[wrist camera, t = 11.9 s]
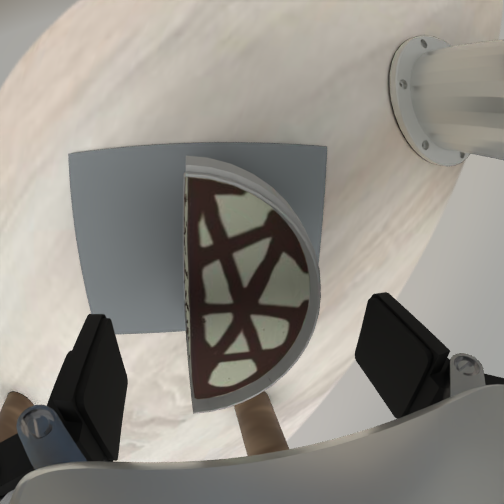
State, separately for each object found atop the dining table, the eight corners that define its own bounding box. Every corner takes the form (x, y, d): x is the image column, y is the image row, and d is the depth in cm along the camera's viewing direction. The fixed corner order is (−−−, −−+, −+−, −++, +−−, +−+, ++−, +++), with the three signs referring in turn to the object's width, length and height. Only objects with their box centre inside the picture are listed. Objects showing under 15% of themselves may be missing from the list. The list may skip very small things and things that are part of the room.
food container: (262, 315, 24) (307, 406, 15) (184, 318, 23) (193, 420, 14) (276, 155, 20) (353, 169, 11) (184, 151, 19) (186, 157, 9)
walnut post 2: (269, 387, 28) (320, 507, 15) (267, 409, 29) (311, 521, 16) (233, 392, 27) (271, 520, 14) (234, 414, 28) (268, 531, 16)
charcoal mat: (324, 146, 21) (327, 146, 21) (310, 315, 26) (311, 317, 25) (70, 153, 17) (68, 153, 17) (97, 331, 22) (96, 334, 21)
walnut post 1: (26, 393, 22) (-9, 498, 9) (39, 415, 24) (14, 516, 11) (3, 390, 22) (-35, 487, 9) (16, 411, 23) (-13, 506, 10)
